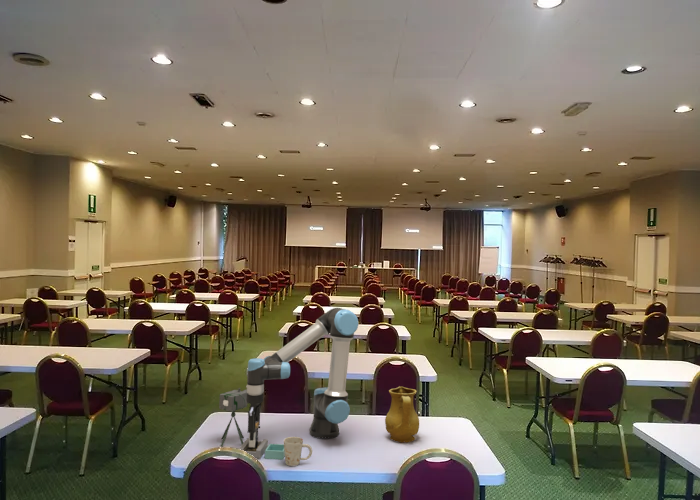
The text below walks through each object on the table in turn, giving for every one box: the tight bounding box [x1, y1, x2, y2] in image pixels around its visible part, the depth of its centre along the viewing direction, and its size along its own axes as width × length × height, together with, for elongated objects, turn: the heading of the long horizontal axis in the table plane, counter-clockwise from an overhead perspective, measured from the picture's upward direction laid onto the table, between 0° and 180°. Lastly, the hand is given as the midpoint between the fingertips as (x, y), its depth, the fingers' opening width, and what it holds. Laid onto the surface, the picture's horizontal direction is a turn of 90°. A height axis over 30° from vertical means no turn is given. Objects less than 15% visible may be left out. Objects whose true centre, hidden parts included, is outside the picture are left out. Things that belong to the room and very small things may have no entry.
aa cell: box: [249, 420, 259, 450], centre depth 220 cm, size 4×4×13 cm
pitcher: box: [384, 385, 420, 444], centre depth 242 cm, size 17×19×25 cm
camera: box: [218, 387, 249, 447], centre depth 233 cm, size 16×16×25 cm
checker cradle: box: [238, 437, 269, 460], centre depth 220 cm, size 10×14×4 cm
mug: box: [283, 436, 313, 467], centre depth 210 cm, size 8×13×10 cm, turn 95°
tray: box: [264, 443, 285, 461], centre depth 217 cm, size 8×8×4 cm
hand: (253, 444), depth 220 cm, fingers closed on aa cell, 4 cm apart
